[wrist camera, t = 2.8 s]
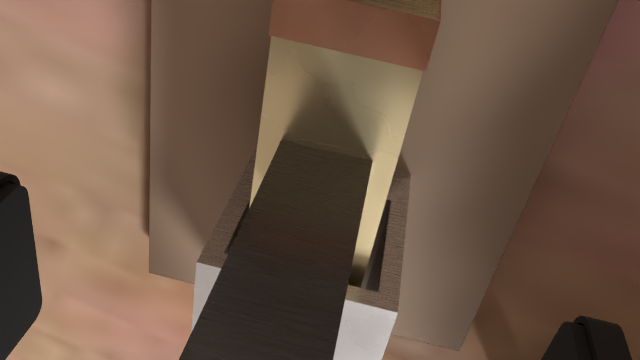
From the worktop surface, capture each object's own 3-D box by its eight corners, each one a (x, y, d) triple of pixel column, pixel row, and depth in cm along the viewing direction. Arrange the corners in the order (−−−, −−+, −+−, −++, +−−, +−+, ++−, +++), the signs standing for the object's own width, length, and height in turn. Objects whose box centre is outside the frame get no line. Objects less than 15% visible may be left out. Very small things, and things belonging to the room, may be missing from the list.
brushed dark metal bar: (442, -25, 14) (427, 375, 4) (336, 353, 21) (249, 794, 12) (307, -55, 14) (28, 273, 5) (249, 331, 21) (98, 749, 12)
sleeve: (411, 174, 19) (398, 312, 14) (364, 327, 23) (341, 475, 18) (260, 139, 19) (196, 262, 14) (240, 295, 23) (184, 433, 18)
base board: (780, -408, 12) (811, -426, 11) (458, 327, 24) (458, 351, 23) (180, -519, 12) (157, -545, 11) (161, 252, 24) (148, 272, 23)
